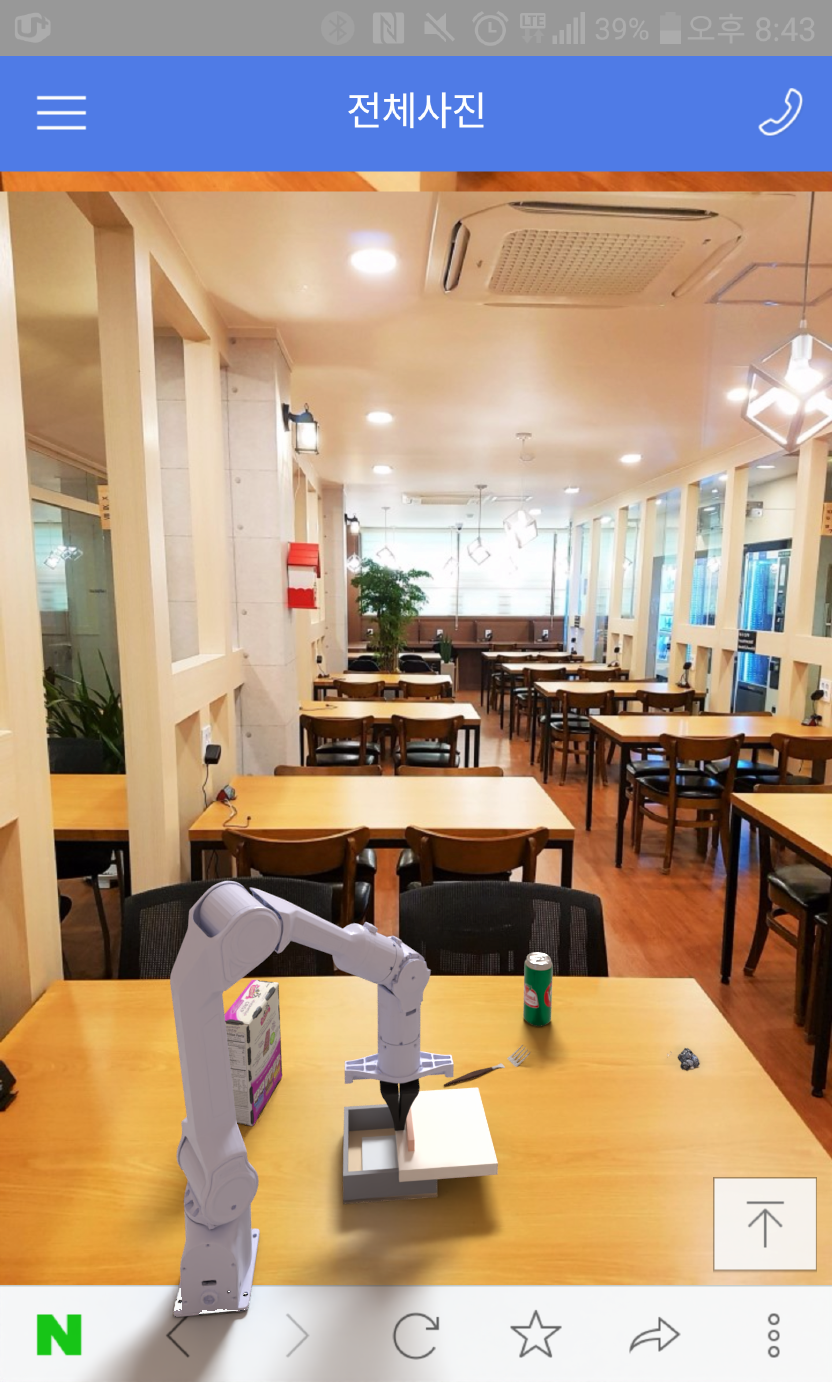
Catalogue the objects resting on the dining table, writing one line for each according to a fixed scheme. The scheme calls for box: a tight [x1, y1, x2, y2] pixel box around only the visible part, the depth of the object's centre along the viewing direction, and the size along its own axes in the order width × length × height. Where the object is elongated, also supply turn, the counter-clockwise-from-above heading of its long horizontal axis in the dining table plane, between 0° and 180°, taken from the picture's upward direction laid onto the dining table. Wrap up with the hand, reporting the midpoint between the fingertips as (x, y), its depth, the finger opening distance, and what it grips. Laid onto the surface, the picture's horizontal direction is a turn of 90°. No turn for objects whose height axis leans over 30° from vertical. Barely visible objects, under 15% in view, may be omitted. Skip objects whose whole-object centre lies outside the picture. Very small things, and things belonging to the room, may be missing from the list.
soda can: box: [522, 952, 554, 1027], centre depth 125 cm, size 5×5×12 cm
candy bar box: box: [224, 979, 283, 1127], centre depth 104 cm, size 11×5×16 cm, turn 168°
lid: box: [396, 1087, 499, 1182], centre depth 93 cm, size 14×13×3 cm
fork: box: [443, 1044, 531, 1087], centre depth 111 cm, size 3×16×2 cm, turn 117°
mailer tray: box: [342, 1103, 438, 1205], centre depth 93 cm, size 12×12×4 cm
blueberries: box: [666, 1047, 701, 1071], centre depth 115 cm, size 7×8×2 cm
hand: (399, 1125), depth 92 cm, fingers closed
